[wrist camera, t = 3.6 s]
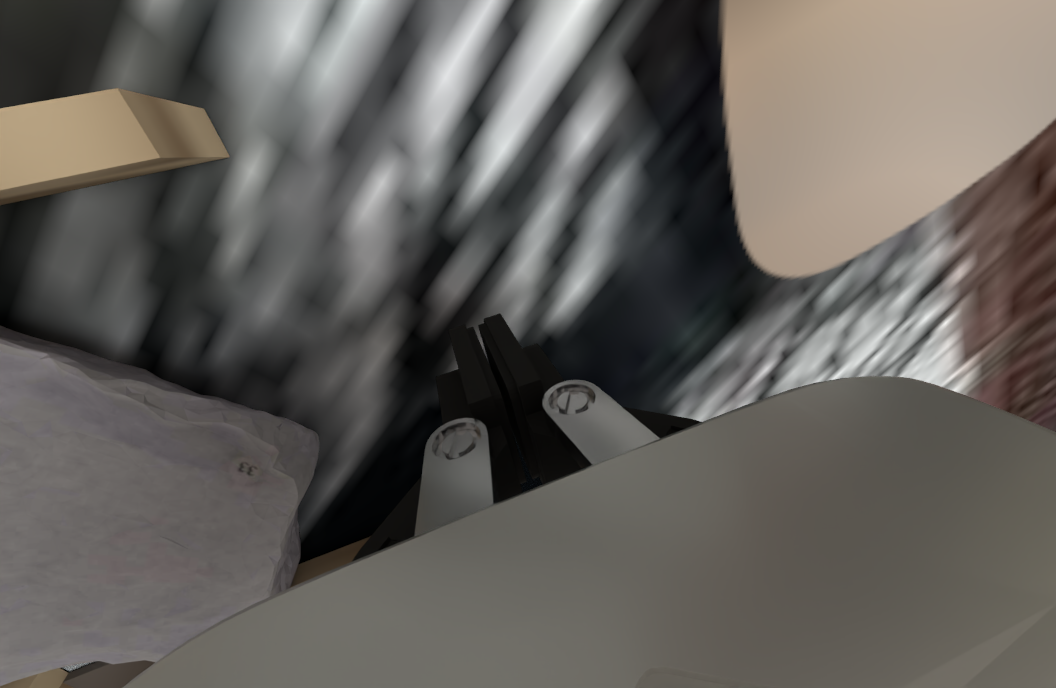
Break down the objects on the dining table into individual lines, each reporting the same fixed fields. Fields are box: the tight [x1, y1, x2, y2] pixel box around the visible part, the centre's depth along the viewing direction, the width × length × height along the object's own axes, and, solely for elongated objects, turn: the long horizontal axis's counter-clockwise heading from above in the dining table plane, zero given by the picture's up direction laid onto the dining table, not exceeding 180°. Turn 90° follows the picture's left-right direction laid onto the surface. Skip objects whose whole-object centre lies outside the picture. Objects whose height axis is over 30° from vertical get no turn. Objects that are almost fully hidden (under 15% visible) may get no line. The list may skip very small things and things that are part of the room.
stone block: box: [0, 326, 319, 686], centre depth 10 cm, size 12×5×10 cm
